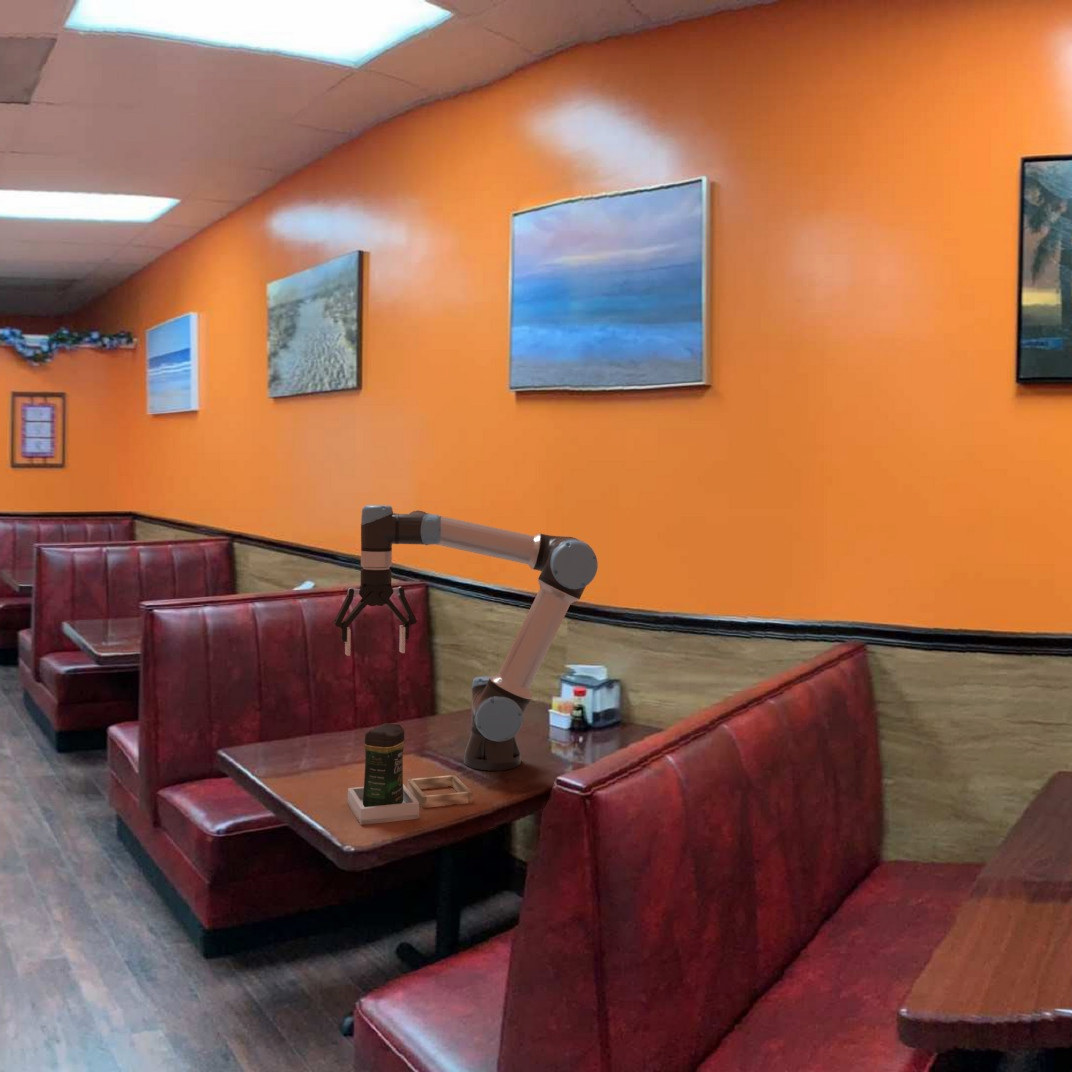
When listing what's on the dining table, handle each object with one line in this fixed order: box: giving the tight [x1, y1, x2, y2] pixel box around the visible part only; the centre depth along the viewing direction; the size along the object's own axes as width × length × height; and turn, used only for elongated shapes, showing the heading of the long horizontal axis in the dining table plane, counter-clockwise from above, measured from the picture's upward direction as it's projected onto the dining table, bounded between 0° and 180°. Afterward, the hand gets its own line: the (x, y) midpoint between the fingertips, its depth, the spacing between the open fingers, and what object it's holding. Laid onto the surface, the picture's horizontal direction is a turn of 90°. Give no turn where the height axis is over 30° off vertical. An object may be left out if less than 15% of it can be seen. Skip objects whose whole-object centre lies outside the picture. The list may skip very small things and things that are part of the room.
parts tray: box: [347, 783, 420, 826], centre depth 230 cm, size 13×15×4 cm
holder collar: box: [406, 774, 473, 809], centre depth 241 cm, size 12×14×2 cm
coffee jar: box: [363, 722, 405, 807], centre depth 230 cm, size 10×8×19 cm
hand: (375, 653), depth 251 cm, fingers open, 13 cm apart
